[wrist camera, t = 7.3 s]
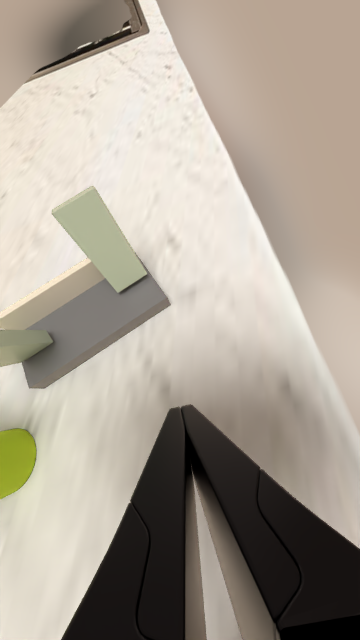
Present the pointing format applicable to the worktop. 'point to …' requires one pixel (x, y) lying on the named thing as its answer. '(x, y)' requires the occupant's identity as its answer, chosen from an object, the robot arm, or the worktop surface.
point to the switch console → (80, 318)
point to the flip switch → (100, 238)
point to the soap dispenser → (15, 459)
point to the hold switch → (21, 345)
